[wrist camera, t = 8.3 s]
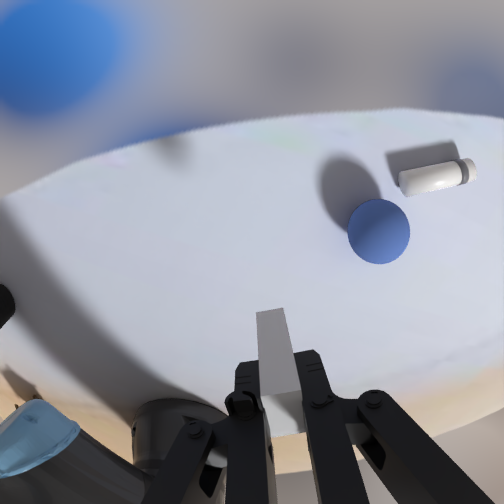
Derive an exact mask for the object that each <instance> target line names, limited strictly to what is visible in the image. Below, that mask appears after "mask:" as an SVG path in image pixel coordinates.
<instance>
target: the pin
mask: <svg viewBox="0 0 504 504" xmlns="http://www.w3.org/2000/svg"><path fill="white" fill-rule="evenodd" d="M476 176H477V170H476V166H475V164H474V162H473V161H472V160H471V159H469V158H466V159H457V160H452V161H450V162H444V163H439V164H434V165H429V166H424V167H419V168H415V169H410V170H405V171H401V172H400V173H399V176H398V181H399V186H400V189H401V191H402V193H403V195H404V196H405V197H410V196H414V195H418V194H422V193H426V192H431V191H435V190H439V189H443V188H447V187H451V186H455V185H462V184H466V183H468V182H472V181H474V180H475V179H476Z"/></svg>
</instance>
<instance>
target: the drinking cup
mask: <svg viewBox="0 0 504 504" xmlns="http://www.w3.org/2000/svg"><path fill="white" fill-rule="evenodd" d="M14 313H15V302H14V299H13V297H12V295H11V293H10V291H9V290H8V289H7V288H6V287H5V286H4V285H2V284H0V329H1V328H2V326H3V325H4V324H5V323H6V322H7V321H8V320H9V319H10V318H11V317H12V316H13V314H14Z"/></svg>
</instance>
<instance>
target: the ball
mask: <svg viewBox="0 0 504 504" xmlns="http://www.w3.org/2000/svg"><path fill="white" fill-rule="evenodd" d="M409 237H410V227H409V222H408V219H407V217H406V215H405V214H404V212H403V211H402V210H401V209H400V208H399V207H398V206H397V205H396V204H394V203H392V202H390V201H387V200H383V199H374V200H369V201H367V202H365V203H363V204H361V205H360V206H359V207H358V208H357V209H356V210H355V211H354V212H353V214H352V216H351V218H350V220H349V224H348V239H349V242H350V245H351V247H352V249H353V250H354V252H355V253H356V254H357V255H358V256H359V257H360V258H362V259H363V260H365V261H367V262H370V263H373V264H385V263H389V262H391V261H393V260H395V259H397V258H398V257H399V256H400V255H401V254H402V253H403V252H404V250H405V249H406V247H407V245H408V242H409Z"/></svg>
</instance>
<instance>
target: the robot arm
mask: <svg viewBox="0 0 504 504" xmlns="http://www.w3.org/2000/svg"><path fill="white" fill-rule="evenodd" d="M256 320H257V339H258V357H259V360H255V361H248V362H241V363H240V364H239V365H238V367H237V368H236V370H235V389H234V392H232V393H230V394H229V395H228V396H227V397H226V399H225V402H224V403H225V405H226V408H227V411H228V413H229V416H228V417H227V416H226V415H225V414H223V413H221V412H220V411H218V410H216V409H214V408H211V407H209V406H206V405H204V404H200V403H197V402H193V401H188V400H181V399H160V400H155V401H151V402H149V403H146V404H145V405H143V406H142V407H141V408H140V409H139V410H138V411H137V413H136V416H135V418H134V421H133V423H132V428H131V433H132V452H133V465H132V464H131V463H129V462H127V461H126V460H124V459H123V458H121V457H120V456H118V455H117V454H115V453H114V452H112V451H111V450H109V449H108V448H107V447H105V446H104V445H102V444H101V443H100V442H98V441H97V440H96V439H94V438H93V437H92V436H90V435H89V434H88V433H86V432H85V431H84V430H82V429H81V428H80V426H79V425H78V424H77V422H75V421H73V420H70V419H68V418H67V417H66V416H65V415H63V414H62V413H61V412H60V411H58V410H57V409H56V408H55V407H53V406H52V405H51V404H50V403H48V402H46V401H44V400H41V399H33V400H29V401H27V402H26V403H24V404H23V405H21V406H20V407H19V408H18V409H16V410H15V411H14V412H13V413H12V414H11V415H9V416H8V417H7V418H6V419H5V420H4V421H3V422H2V423H1V424H0V504H224V492H225V483H226V497H225V504H278V503H277V491H276V480H275V467H274V455H273V446H272V443H271V438H272V437H279V436H285V435H291V434H297V433H303V432H306V434H307V442H308V451H309V453H310V458H311V464H312V469H313V475H314V480H315V485H316V492H317V497H318V503H319V504H370V503H369V500H368V497H367V493H366V490H365V486H364V483H363V479H362V476H361V473H360V470H359V466H358V463H357V460H356V457H355V453H354V450H353V447H352V445H356V447H357V448H358V449H359V451H360V452H361V454H362V455H363V456H364V458H365V459H366V461H367V462H368V463H369V465H370V466H371V467H372V469H373V470H374V472H375V473H376V474H377V476H378V477H379V478H380V480H381V481H382V483H383V484H384V485H385V487H386V488H387V489H388V491H389V492H390V493H391V495H392V496H393V497H394V499H395V500H396V501H397V503H398V504H495V503H494V502H493V501H492V500H491V499H490V498H489V497H488V496H487V495H486V494H485V493H484V492H483V491H482V490H481V489H480V488H479V487H478V486H477V485H476V484H475V483H474V482H473V481H472V480H471V479H470V478H469V477H468V476H467V475H466V473H464V471H462V469H461V468H460V467H459V466H458V465H457V464H456V463H455V462H454V461H453V460H452V459H451V458H450V457H449V456H448V455H447V454H446V453H445V452H444V451H443V450H442V449H441V448H440V447H439V446H438V445H437V444H436V443H435V442H434V441H433V440H432V439H431V438H430V437H429V436H428V434H427V433H426V432H425V431H424V430H423V429H422V428H421V427H420V426H419V425H418V424H417V423H416V422H415V421H414V420H413V419H412V418H411V417H410V416H409V415H408V414H407V413H406V412H405V411H404V410H403V409H402V408H401V407H400V406H399V405H398V404H397V403H396V402H395V401H394V400H393V399H392V397H391V396H390V395H389V394H387V393H386V392H384V391H381V390H369V391H366V392H364V393H363V394H362V395H360V397H359V398H358V399H344V398H340V397H338V396H336V395H335V394H334V393H333V392H332V390H331V387H330V384H329V381H328V378H327V375H326V372H325V369H324V367H323V364H322V361H321V358H320V355H319V354H318V353H317V352H316V351H314V350H313V349H312V350H308V351H303V352H297V353H293V350H292V345H291V341H290V336H289V332H288V327H287V323H286V318H285V314H284V310H283V308H279V309H273V310H267V311H262V312H256Z"/></svg>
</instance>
